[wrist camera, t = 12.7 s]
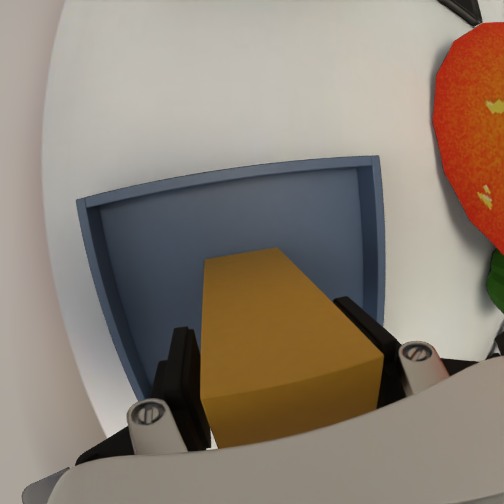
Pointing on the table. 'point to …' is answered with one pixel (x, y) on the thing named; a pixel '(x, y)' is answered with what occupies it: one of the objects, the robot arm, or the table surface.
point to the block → (278, 352)
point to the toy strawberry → (474, 126)
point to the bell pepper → (496, 280)
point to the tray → (228, 244)
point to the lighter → (499, 346)
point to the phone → (465, 10)
